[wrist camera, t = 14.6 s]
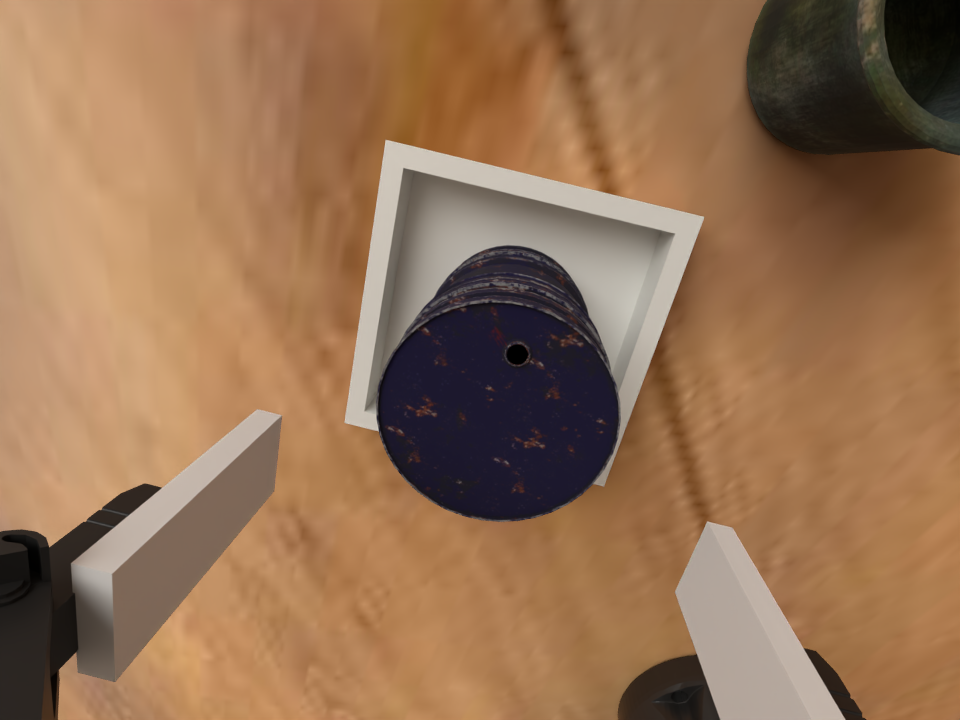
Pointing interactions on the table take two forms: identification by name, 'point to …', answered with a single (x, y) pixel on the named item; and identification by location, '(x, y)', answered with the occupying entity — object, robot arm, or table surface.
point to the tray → (520, 222)
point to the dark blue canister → (500, 391)
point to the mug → (858, 74)
